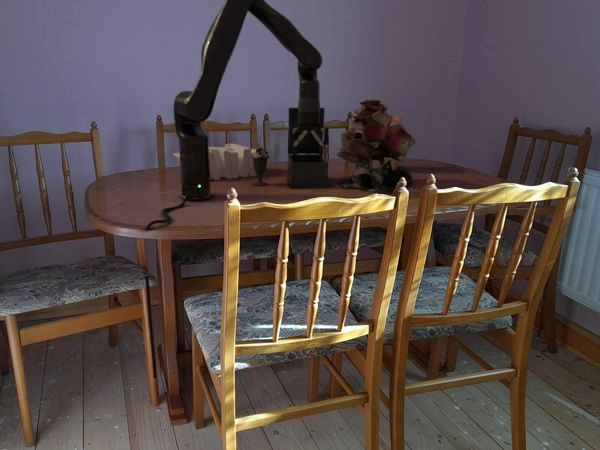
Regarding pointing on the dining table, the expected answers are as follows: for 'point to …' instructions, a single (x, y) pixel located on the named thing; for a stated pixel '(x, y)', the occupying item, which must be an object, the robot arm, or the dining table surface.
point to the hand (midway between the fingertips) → (308, 156)
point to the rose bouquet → (375, 148)
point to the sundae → (260, 164)
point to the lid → (303, 145)
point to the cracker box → (394, 162)
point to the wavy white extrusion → (229, 161)
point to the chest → (307, 171)
